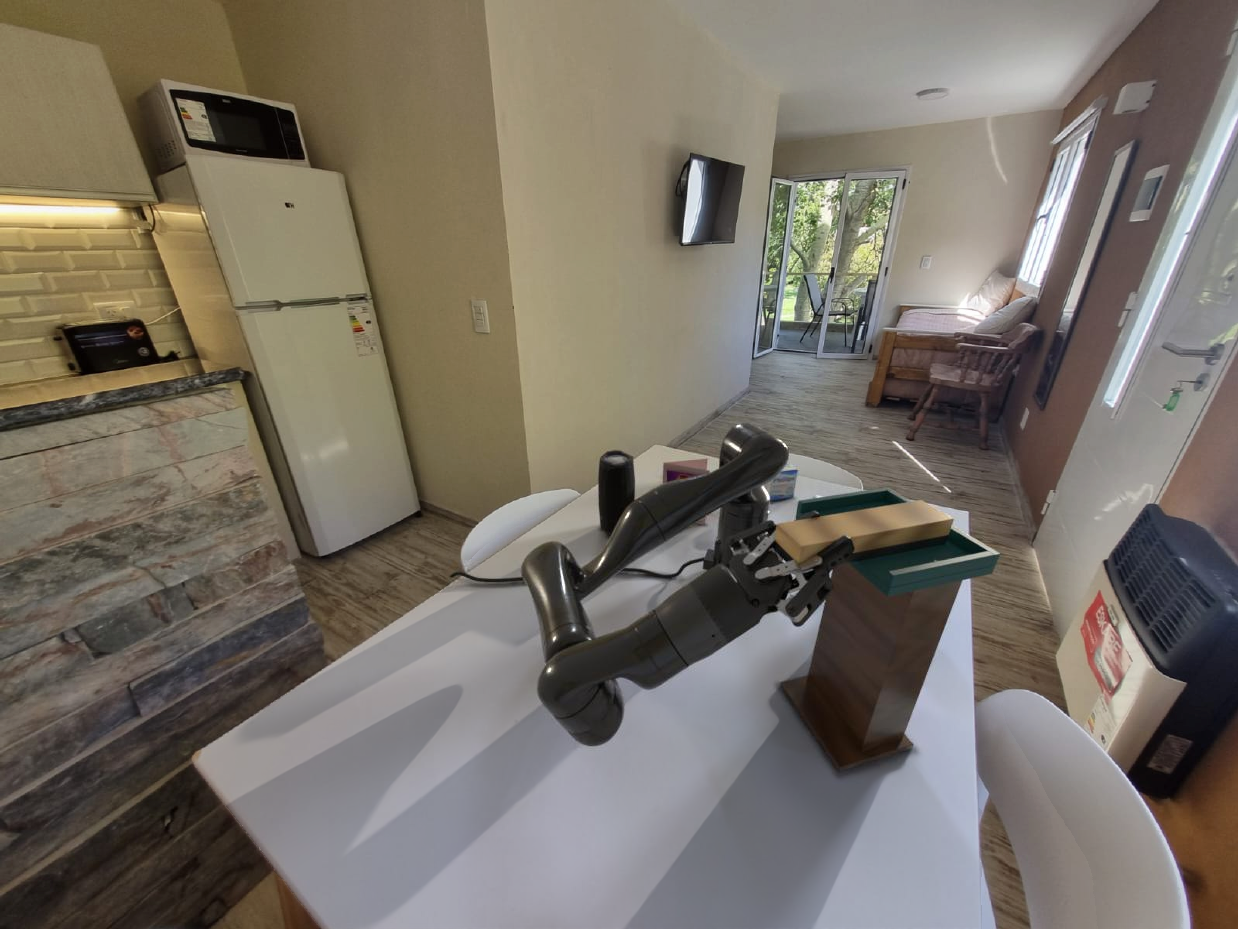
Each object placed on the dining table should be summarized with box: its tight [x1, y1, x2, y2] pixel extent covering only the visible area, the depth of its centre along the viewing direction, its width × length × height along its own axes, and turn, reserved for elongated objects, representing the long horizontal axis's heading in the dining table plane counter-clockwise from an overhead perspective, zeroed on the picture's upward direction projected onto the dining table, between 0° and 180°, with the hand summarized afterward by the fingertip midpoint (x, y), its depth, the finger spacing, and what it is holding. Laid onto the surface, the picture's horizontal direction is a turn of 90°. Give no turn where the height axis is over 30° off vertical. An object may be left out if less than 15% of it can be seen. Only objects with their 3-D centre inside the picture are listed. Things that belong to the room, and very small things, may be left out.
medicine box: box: [764, 463, 799, 502], centre depth 131 cm, size 8×4×9 cm, turn 105°
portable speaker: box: [597, 449, 636, 538], centre depth 113 cm, size 9×9×20 cm
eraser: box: [774, 499, 955, 570], centre depth 54 cm, size 20×5×3 cm, turn 106°
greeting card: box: [662, 458, 711, 526], centre depth 120 cm, size 11×7×15 cm, turn 67°
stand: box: [779, 563, 964, 773], centre depth 65 cm, size 12×14×31 cm
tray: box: [795, 486, 1001, 597], centre depth 57 cm, size 14×16×3 cm
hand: (833, 529), depth 53 cm, fingers closed on eraser, 4 cm apart
